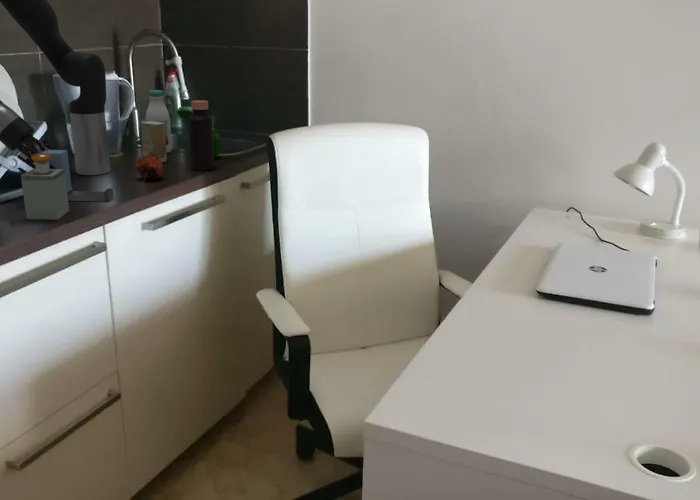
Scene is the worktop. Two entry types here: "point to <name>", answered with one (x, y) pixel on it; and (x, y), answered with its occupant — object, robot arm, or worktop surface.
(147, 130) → the skincare box
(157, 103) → the milk bottle
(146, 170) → the red round fruit
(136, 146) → the worktop surface
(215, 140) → the bell pepper
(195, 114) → the vinegar
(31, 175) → the grey upright block
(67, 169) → the upright slate-blue block
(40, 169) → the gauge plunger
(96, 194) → the rail
